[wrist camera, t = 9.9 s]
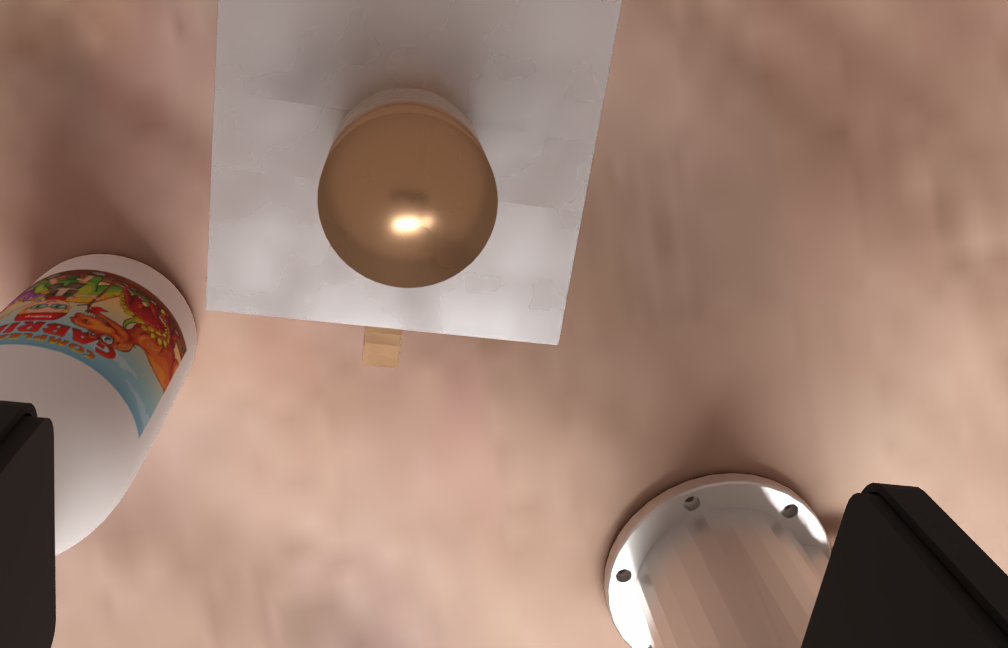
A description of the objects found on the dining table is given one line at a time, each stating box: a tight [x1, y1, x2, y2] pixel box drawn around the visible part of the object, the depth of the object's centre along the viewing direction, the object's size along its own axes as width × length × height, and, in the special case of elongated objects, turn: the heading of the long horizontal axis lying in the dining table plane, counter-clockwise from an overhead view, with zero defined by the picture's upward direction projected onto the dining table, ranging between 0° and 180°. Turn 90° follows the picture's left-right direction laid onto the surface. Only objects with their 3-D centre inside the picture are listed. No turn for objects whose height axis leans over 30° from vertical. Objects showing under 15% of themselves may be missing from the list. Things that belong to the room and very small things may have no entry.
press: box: [206, 0, 622, 368], centre depth 34 cm, size 10×13×16 cm
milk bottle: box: [0, 254, 197, 556], centre depth 34 cm, size 8×8×20 cm
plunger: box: [317, 87, 498, 288], centre depth 30 cm, size 8×8×20 cm
